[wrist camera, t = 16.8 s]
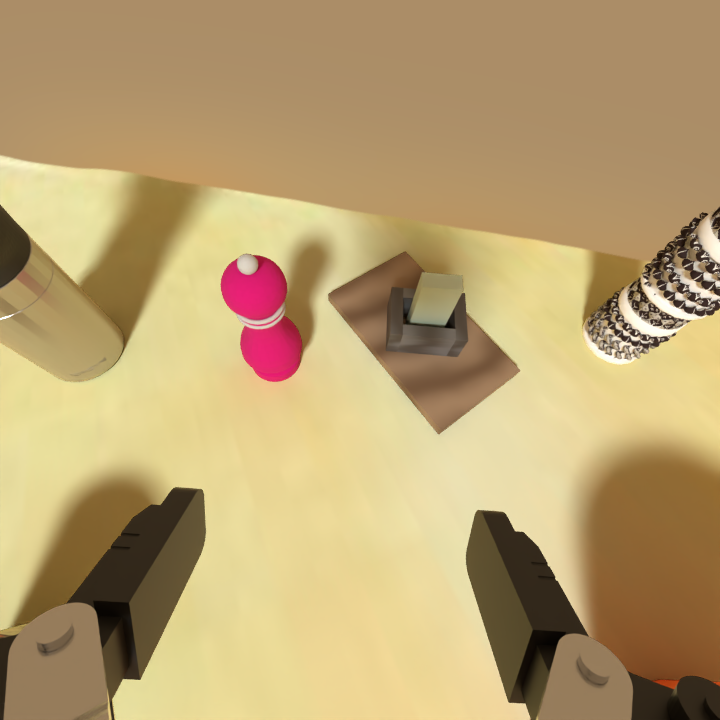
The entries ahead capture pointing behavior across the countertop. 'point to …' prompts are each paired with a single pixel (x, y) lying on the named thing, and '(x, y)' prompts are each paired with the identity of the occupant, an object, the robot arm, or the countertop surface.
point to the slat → (434, 299)
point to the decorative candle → (661, 296)
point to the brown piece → (422, 343)
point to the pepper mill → (262, 316)
